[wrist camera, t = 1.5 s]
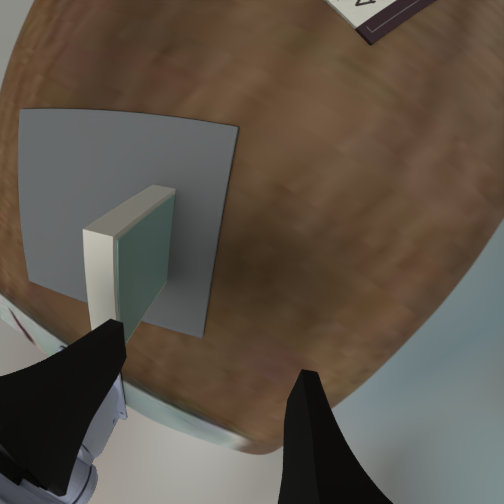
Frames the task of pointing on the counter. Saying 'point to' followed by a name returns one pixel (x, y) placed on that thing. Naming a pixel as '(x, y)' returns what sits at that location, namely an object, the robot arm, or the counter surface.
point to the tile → (128, 257)
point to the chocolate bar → (376, 14)
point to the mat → (123, 196)
